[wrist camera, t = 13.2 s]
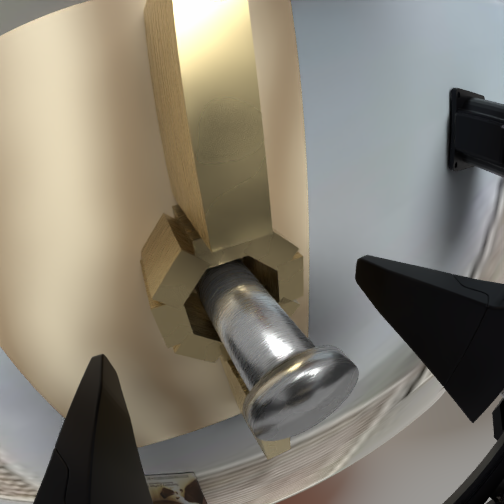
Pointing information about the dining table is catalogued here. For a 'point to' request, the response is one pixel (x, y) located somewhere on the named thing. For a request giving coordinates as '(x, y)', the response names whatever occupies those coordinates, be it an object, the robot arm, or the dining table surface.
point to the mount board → (117, 206)
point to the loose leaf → (240, 394)
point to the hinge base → (210, 169)
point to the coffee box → (175, 489)
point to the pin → (273, 355)
